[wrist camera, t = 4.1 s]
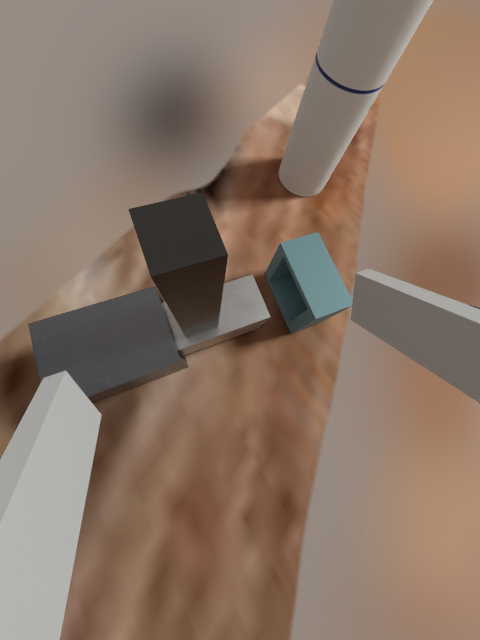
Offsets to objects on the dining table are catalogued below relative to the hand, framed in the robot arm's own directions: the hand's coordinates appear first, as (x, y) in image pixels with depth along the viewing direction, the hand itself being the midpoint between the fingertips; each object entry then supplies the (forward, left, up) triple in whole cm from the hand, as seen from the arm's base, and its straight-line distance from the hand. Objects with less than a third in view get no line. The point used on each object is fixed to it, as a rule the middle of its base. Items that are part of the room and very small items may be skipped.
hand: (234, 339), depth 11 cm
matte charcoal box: (-8, +4, -16) cm, 19 cm away
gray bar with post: (-3, +4, -15) cm, 16 cm away
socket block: (+11, +4, -16) cm, 20 cm away
